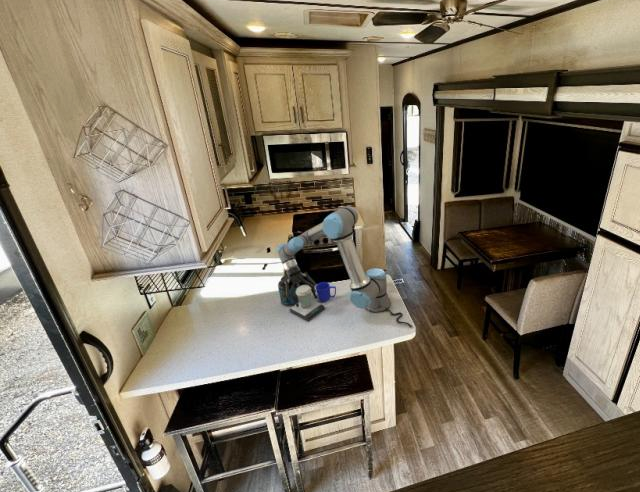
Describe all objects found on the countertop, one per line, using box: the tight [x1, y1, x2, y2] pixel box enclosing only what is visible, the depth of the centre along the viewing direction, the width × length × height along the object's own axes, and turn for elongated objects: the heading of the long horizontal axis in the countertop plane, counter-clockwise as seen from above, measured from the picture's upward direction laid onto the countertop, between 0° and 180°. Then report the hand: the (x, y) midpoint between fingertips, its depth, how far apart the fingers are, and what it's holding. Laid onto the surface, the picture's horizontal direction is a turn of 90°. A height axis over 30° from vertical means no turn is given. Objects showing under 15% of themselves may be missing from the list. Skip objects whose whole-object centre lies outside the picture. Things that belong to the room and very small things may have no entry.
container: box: [277, 274, 300, 307], centre depth 198 cm, size 12×12×17 cm
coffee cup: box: [296, 284, 312, 309], centre depth 190 cm, size 8×9×12 cm
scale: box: [289, 298, 326, 322], centre depth 192 cm, size 15×13×3 cm
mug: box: [315, 281, 337, 303], centre depth 200 cm, size 8×12×10 cm
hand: (307, 302), depth 188 cm, fingers open, 11 cm apart
